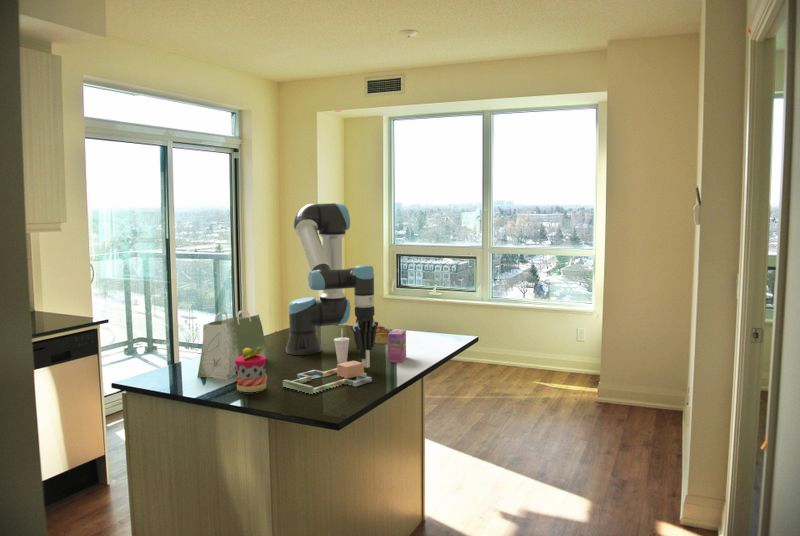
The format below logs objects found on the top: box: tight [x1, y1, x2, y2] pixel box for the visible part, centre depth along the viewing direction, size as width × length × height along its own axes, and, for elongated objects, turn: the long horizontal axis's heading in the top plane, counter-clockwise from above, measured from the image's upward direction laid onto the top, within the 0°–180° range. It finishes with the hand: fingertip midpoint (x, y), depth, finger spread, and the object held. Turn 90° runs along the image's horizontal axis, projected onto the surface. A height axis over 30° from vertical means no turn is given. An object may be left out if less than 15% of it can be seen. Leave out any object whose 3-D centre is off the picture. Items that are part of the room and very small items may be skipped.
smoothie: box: [333, 328, 350, 364], centre depth 248 cm, size 6×6×14 cm
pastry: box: [374, 323, 392, 345], centre depth 291 cm, size 13×15×8 cm
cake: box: [235, 347, 268, 393], centre depth 211 cm, size 10×11×15 cm
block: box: [336, 360, 365, 379], centre depth 229 cm, size 6×8×4 cm
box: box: [387, 328, 407, 364], centre depth 251 cm, size 10×6×12 cm, turn 168°
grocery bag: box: [196, 309, 267, 379], centre depth 242 cm, size 32×14×23 cm, turn 166°
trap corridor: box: [282, 367, 373, 395], centre depth 219 cm, size 27×25×2 cm
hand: (365, 366), depth 235 cm, fingers closed
